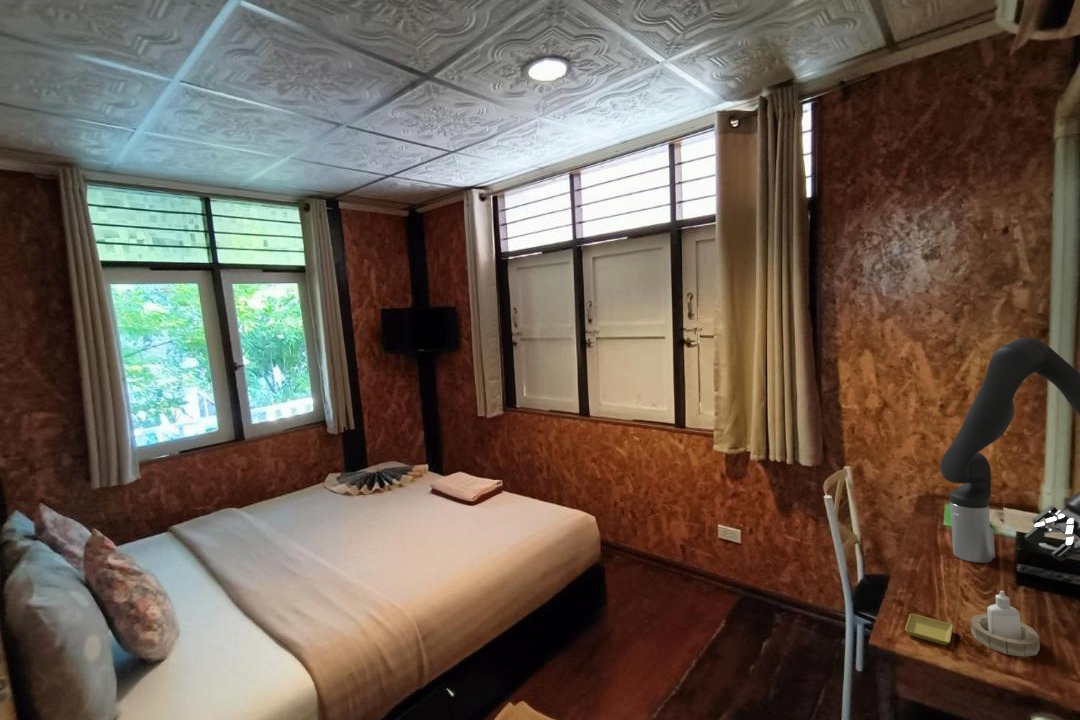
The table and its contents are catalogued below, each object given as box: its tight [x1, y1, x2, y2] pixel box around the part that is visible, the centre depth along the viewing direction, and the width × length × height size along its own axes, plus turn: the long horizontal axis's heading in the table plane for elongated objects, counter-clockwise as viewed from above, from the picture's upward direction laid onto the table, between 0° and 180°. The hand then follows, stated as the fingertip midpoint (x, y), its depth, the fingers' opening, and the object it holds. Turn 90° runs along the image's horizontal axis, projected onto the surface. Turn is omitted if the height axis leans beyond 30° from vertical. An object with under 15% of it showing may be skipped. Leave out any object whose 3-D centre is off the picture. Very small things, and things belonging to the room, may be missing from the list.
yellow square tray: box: [904, 613, 954, 646], centre depth 120 cm, size 9×9×2 cm
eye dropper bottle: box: [986, 590, 1023, 640], centre depth 114 cm, size 4×6×12 cm
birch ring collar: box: [970, 613, 1041, 658], centre depth 115 cm, size 11×11×3 cm
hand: (1041, 549), depth 116 cm, fingers open, 8 cm apart
